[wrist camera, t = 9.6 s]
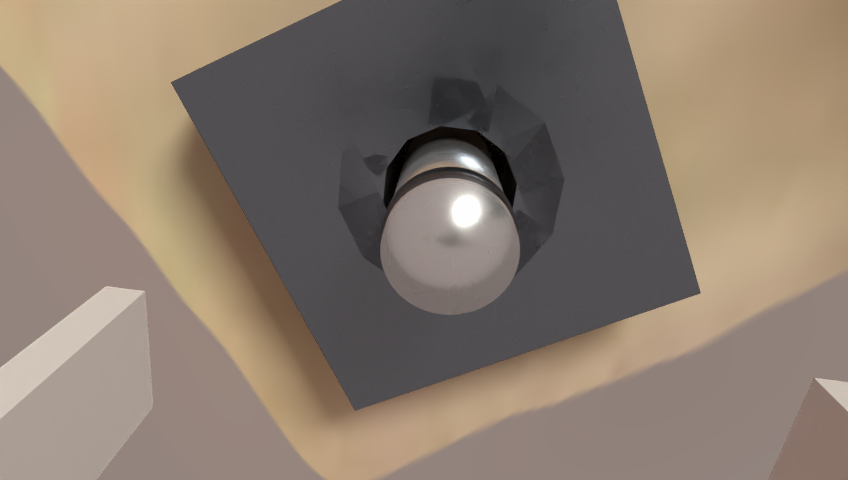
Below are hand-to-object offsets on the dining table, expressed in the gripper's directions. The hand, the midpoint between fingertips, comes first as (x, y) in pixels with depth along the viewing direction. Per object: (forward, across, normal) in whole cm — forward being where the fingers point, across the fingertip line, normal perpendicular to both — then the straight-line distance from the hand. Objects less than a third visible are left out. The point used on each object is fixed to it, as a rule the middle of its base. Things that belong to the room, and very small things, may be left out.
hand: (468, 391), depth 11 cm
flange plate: (+20, 0, 0) cm, 20 cm away
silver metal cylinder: (+20, 0, 0) cm, 20 cm away
